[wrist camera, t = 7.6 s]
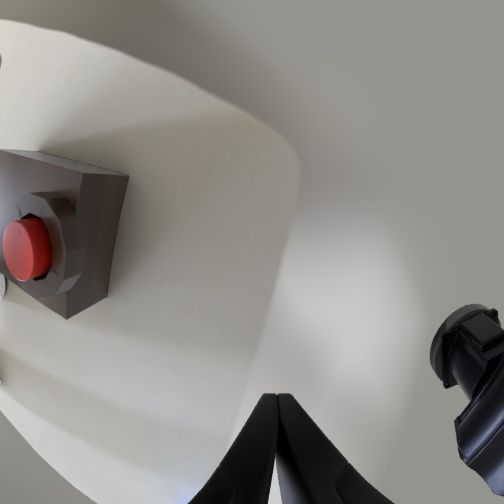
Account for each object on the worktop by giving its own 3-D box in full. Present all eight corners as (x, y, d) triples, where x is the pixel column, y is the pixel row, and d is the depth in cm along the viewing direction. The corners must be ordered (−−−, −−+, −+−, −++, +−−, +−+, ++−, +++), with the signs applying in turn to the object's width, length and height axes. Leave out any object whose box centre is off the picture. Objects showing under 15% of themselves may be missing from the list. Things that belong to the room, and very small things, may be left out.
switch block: (142, 179, 20) (77, 176, 13) (118, 303, 22) (62, 338, 15) (36, 151, 21) (-21, 148, 14) (23, 250, 23) (-29, 264, 17)
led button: (56, 226, 14) (35, 230, 12) (52, 283, 15) (32, 291, 13) (24, 211, 15) (4, 214, 13) (20, 262, 15) (2, 268, 14)
